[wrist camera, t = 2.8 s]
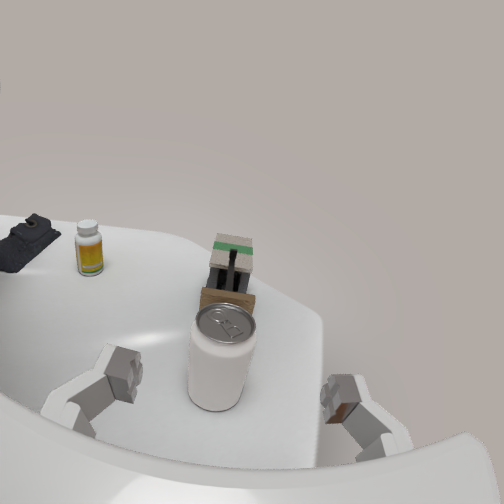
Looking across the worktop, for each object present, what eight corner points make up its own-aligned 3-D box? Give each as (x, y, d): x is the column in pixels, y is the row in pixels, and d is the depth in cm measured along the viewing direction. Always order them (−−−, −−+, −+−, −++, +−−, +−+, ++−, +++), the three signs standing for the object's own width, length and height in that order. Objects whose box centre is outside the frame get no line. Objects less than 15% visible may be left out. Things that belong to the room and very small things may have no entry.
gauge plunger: (242, 353, 34) (257, 292, 29) (196, 346, 33) (202, 284, 29) (243, 307, 42) (255, 252, 38) (205, 301, 42) (212, 245, 37)
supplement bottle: (73, 269, 45) (68, 223, 40) (93, 259, 49) (90, 215, 45) (88, 280, 43) (83, 232, 39) (109, 269, 48) (106, 223, 44)
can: (218, 364, 34) (231, 293, 29) (250, 397, 30) (274, 329, 25) (177, 383, 30) (178, 311, 25) (208, 421, 26) (219, 357, 21)
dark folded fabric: (-24, 265, 36) (-29, 246, 33) (26, 226, 55) (24, 210, 53) (16, 278, 37) (10, 257, 35) (66, 233, 57) (64, 215, 55)
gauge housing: (243, 324, 43) (256, 269, 38) (199, 317, 42) (205, 261, 37) (244, 287, 52) (254, 238, 48) (207, 281, 51) (214, 232, 47)
